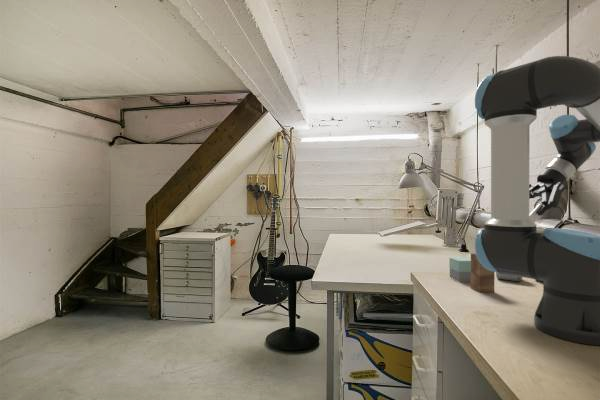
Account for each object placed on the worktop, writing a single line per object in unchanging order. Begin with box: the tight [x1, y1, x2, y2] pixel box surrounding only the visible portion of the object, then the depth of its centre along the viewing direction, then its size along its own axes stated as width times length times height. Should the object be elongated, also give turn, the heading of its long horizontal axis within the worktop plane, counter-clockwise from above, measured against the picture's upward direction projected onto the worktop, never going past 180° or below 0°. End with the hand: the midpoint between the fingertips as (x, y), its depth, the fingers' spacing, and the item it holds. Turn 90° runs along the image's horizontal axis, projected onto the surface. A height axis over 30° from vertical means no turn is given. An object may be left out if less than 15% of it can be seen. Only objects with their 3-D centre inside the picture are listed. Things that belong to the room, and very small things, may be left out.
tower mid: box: [448, 257, 471, 272], centre depth 124 cm, size 7×7×4 cm
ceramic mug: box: [495, 272, 523, 282], centre depth 125 cm, size 10×8×7 cm
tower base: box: [449, 268, 471, 283], centre depth 124 cm, size 7×7×4 cm
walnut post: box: [470, 252, 495, 294], centre depth 109 cm, size 5×5×12 cm
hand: (513, 219), depth 110 cm, fingers open, 13 cm apart
